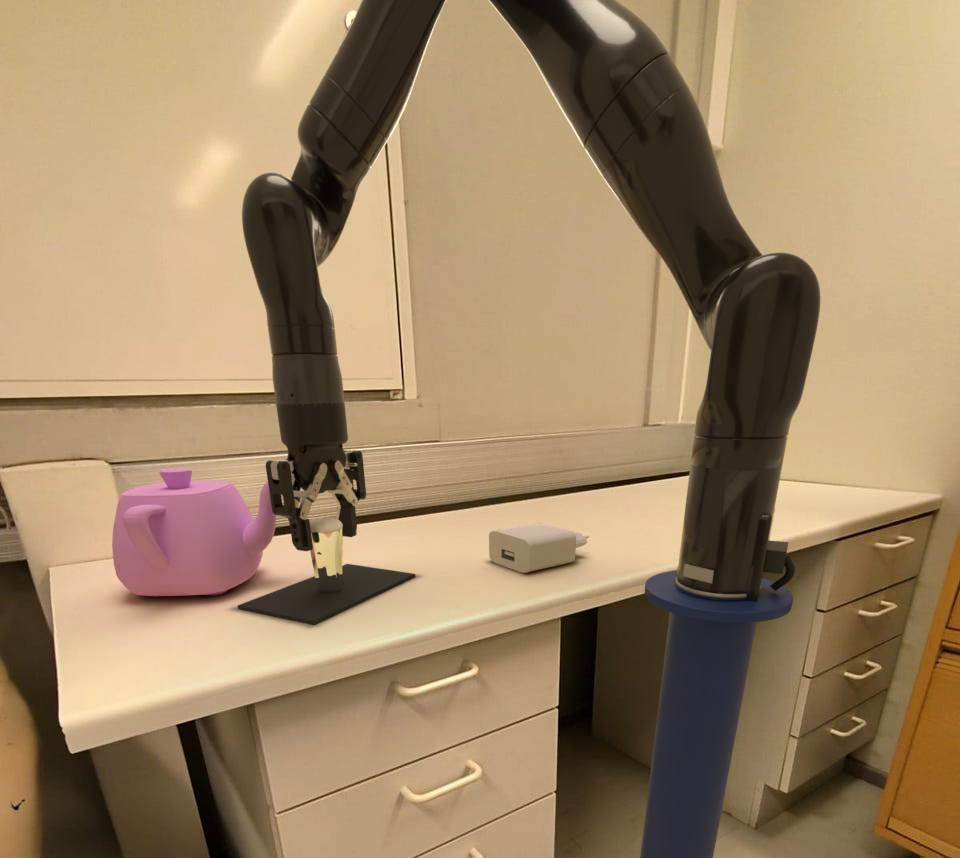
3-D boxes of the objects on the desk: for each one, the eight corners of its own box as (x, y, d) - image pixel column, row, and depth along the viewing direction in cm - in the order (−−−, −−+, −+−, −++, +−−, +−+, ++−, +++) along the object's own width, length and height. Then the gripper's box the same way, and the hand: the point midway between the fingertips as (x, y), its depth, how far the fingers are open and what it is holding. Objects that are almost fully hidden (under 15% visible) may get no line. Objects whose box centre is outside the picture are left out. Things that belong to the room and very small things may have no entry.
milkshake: (361, 585, 76) (353, 507, 72) (331, 596, 71) (322, 515, 68) (335, 580, 78) (326, 504, 74) (305, 591, 74) (294, 511, 70)
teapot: (81, 618, 67) (40, 484, 61) (168, 567, 86) (143, 461, 80) (280, 614, 67) (258, 480, 61) (322, 564, 87) (309, 458, 81)
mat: (415, 576, 80) (415, 573, 80) (314, 624, 64) (313, 621, 64) (347, 566, 85) (347, 563, 85) (237, 608, 69) (237, 605, 69)
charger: (605, 557, 88) (528, 575, 80) (563, 545, 95) (488, 560, 87) (607, 526, 86) (529, 541, 78) (564, 516, 93) (488, 529, 85)
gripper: (288, 401, 58) (309, 560, 65) (375, 398, 70) (386, 533, 76) (236, 401, 62) (261, 553, 68) (327, 399, 73) (342, 528, 80)
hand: (327, 542), depth 72 cm, fingers open, 7 cm apart
